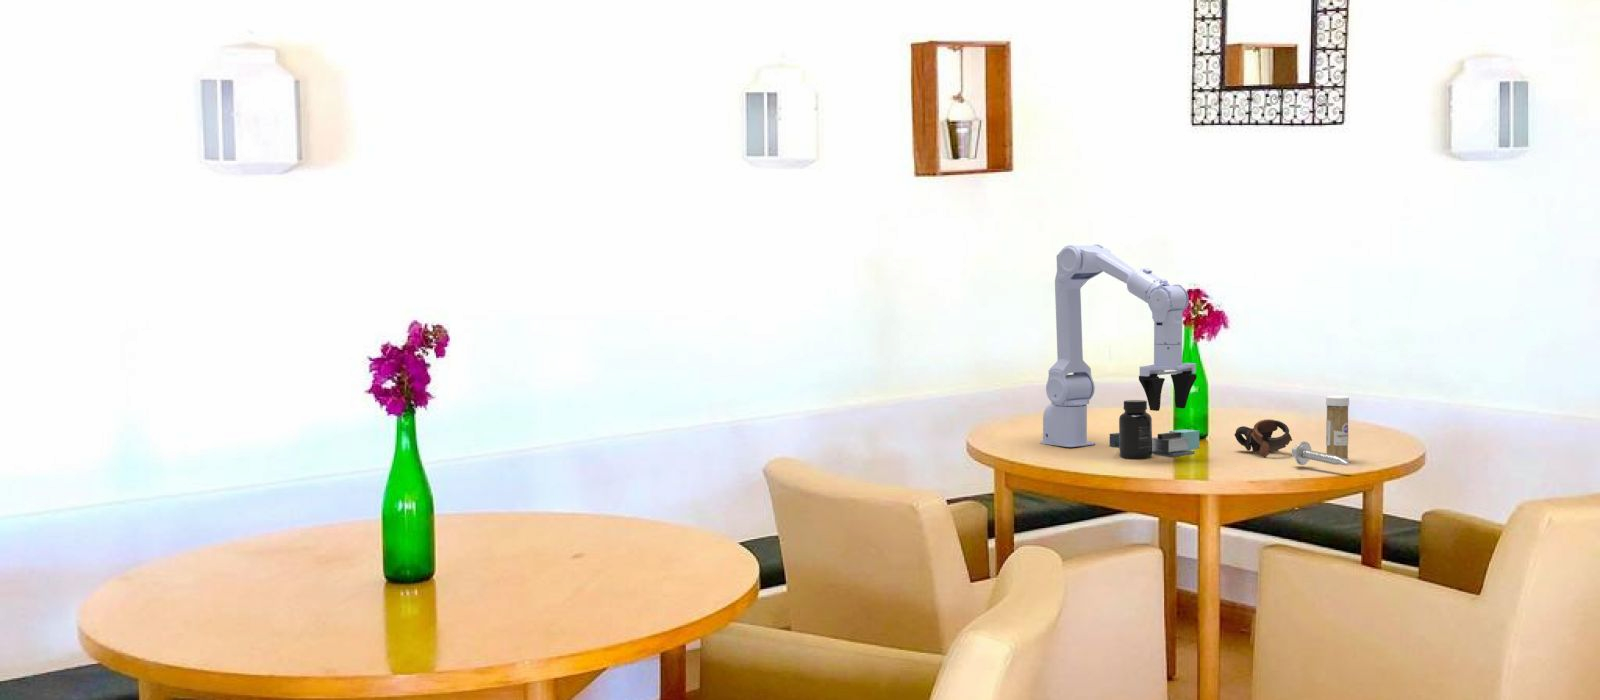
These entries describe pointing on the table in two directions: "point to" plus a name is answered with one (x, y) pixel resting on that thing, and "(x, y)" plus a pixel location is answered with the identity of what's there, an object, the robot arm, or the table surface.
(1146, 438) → the supplement bottle
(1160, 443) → the grey stepped block
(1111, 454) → the table surface
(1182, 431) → the teal block
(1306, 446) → the screw
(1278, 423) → the brown looped part
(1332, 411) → the sprinkles bottle
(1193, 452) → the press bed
